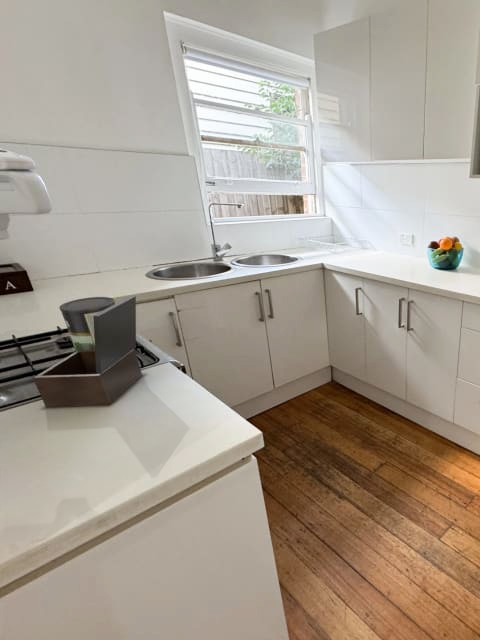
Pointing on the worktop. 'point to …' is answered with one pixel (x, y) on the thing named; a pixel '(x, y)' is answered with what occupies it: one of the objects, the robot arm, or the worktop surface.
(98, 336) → the dark grey box door
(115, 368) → the open brown box
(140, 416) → the worktop surface
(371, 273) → the worktop surface
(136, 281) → the worktop surface
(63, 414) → the worktop surface
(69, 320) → the coffee can
